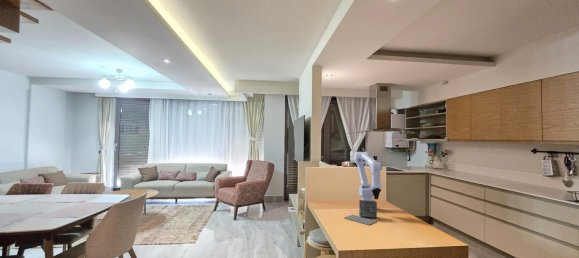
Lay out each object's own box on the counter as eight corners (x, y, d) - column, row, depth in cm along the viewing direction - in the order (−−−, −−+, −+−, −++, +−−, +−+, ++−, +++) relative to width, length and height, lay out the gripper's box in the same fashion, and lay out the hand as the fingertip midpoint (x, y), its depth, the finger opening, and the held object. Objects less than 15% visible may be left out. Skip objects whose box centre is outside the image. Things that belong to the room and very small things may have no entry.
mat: (352, 215, 173) (352, 214, 173) (376, 221, 160) (376, 221, 160) (343, 218, 166) (343, 217, 166) (368, 225, 153) (368, 224, 153)
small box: (374, 216, 172) (375, 200, 173) (377, 218, 166) (377, 202, 167) (358, 214, 173) (359, 199, 174) (360, 217, 167) (361, 201, 168)
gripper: (376, 181, 170) (376, 201, 169) (386, 179, 180) (386, 198, 179) (366, 180, 175) (366, 199, 174) (377, 178, 185) (377, 197, 184)
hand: (376, 199), depth 177 cm, fingers closed
